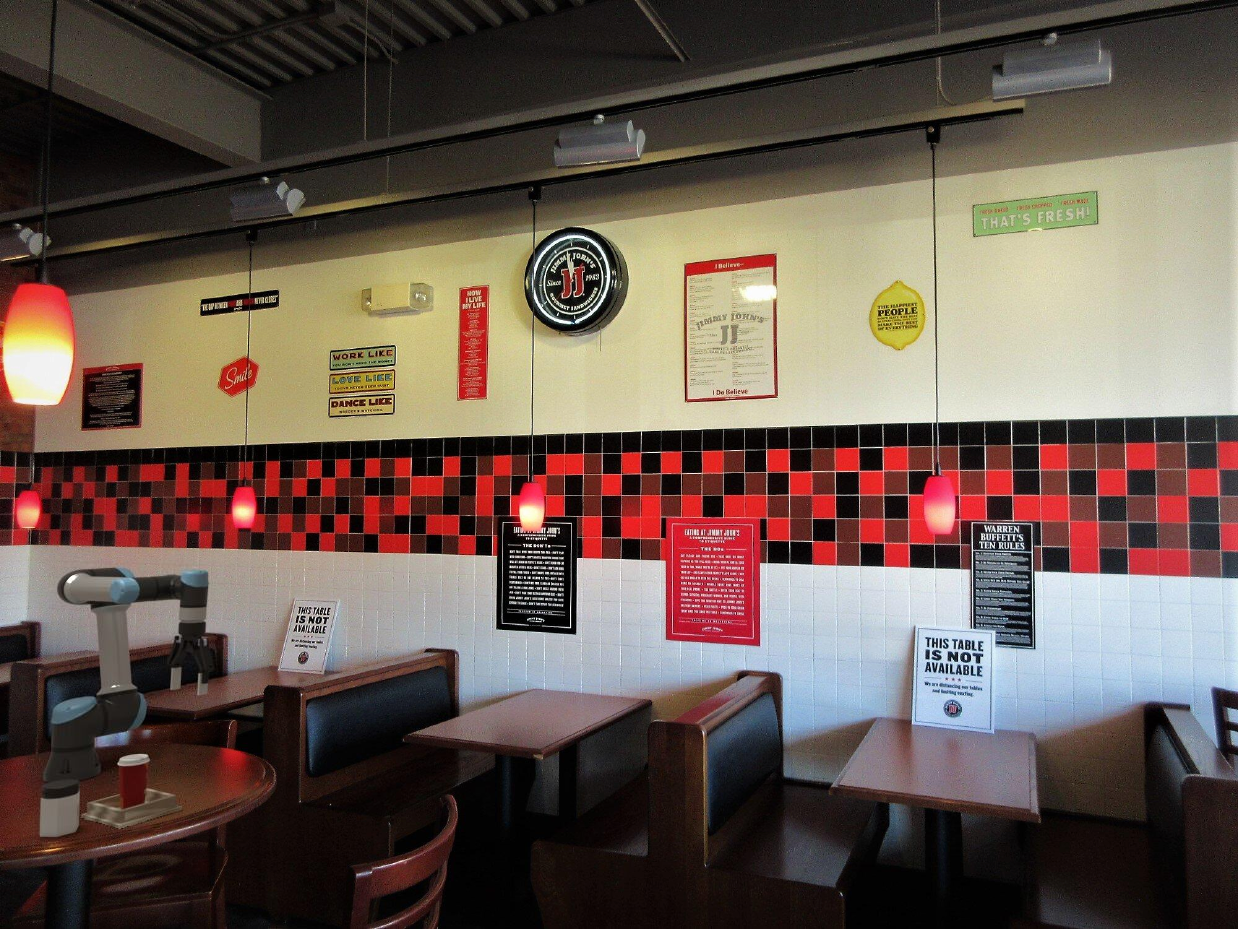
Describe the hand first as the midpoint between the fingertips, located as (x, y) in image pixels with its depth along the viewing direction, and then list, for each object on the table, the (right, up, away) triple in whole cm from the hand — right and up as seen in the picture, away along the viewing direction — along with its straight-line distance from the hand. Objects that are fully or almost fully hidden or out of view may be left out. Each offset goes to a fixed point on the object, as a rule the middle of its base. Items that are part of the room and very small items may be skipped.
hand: (188, 692), depth 263 cm
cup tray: (-1, -26, -28) cm, 38 cm away
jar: (-12, -25, -41) cm, 50 cm away
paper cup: (-1, -25, -28) cm, 37 cm away
